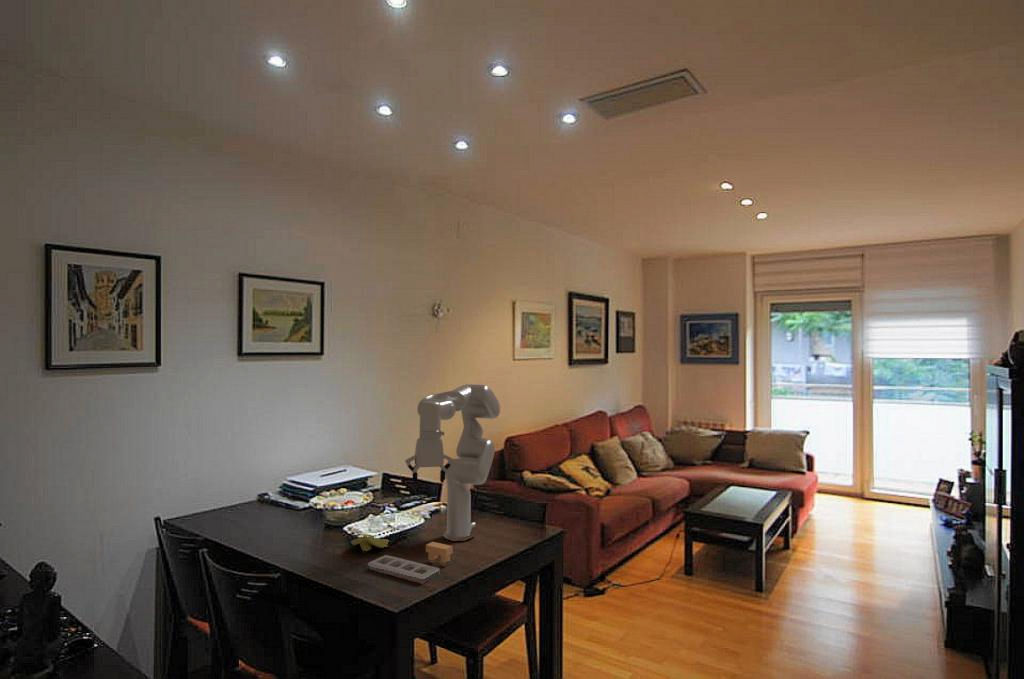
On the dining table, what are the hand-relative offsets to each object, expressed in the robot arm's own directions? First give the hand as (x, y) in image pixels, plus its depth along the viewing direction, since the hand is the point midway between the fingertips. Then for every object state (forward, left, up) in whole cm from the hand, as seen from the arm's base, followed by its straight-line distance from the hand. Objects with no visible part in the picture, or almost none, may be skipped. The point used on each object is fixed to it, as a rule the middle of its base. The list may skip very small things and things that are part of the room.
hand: (428, 482), depth 219 cm
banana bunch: (0, -27, -29) cm, 39 cm away
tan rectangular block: (+1, +5, -28) cm, 29 cm away
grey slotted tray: (+14, 0, -28) cm, 31 cm away
